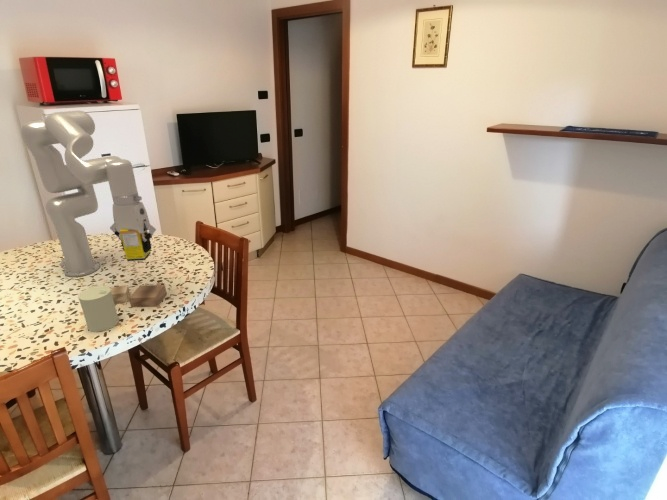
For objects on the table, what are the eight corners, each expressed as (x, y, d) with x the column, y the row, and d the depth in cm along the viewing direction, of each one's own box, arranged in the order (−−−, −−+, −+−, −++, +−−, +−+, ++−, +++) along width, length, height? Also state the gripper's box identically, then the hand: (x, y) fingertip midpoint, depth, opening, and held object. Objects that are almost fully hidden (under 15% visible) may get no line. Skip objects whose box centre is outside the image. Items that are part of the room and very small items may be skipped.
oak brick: (109, 305, 143) (106, 295, 141) (112, 297, 148) (109, 287, 147) (128, 302, 145) (125, 292, 143) (130, 294, 150) (127, 284, 148)
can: (112, 331, 128) (103, 297, 123) (81, 332, 128) (71, 299, 123) (123, 315, 137) (115, 283, 132) (95, 316, 136) (85, 284, 131)
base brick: (131, 308, 141) (128, 298, 140) (142, 295, 150) (140, 285, 148) (157, 307, 141) (155, 297, 140) (166, 294, 150) (164, 284, 148)
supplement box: (151, 253, 142) (144, 223, 137) (145, 260, 136) (138, 230, 132) (133, 254, 141) (126, 224, 137) (126, 261, 136) (119, 230, 131)
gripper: (157, 197, 132) (167, 247, 140) (109, 195, 135) (121, 244, 142) (143, 203, 126) (154, 256, 133) (93, 201, 129) (107, 253, 136)
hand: (137, 249), depth 138 cm, fingers closed on supplement box, 6 cm apart
